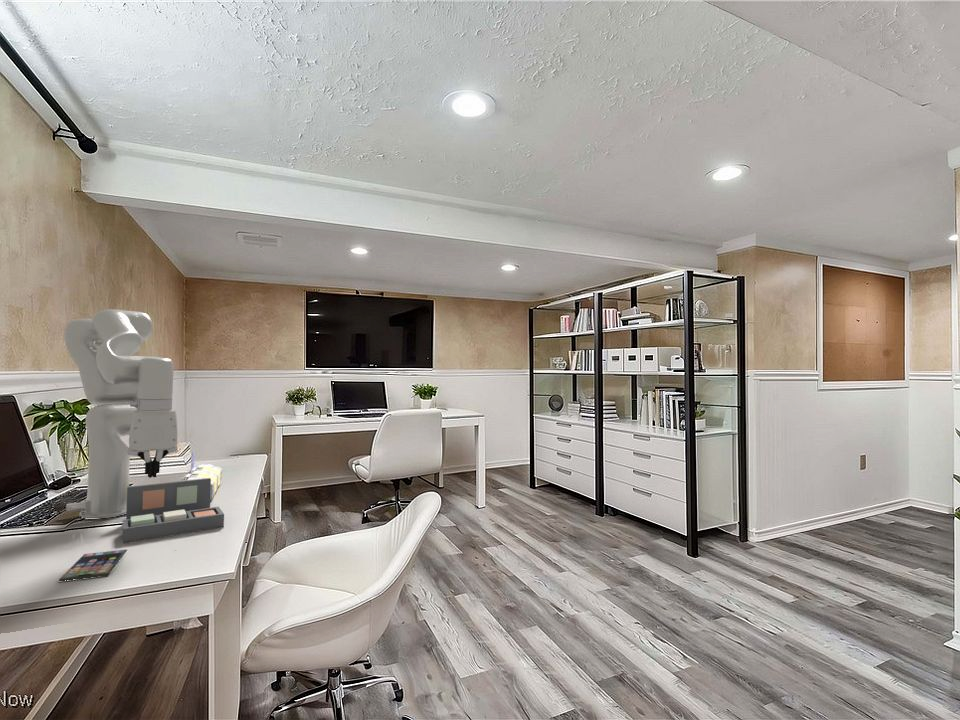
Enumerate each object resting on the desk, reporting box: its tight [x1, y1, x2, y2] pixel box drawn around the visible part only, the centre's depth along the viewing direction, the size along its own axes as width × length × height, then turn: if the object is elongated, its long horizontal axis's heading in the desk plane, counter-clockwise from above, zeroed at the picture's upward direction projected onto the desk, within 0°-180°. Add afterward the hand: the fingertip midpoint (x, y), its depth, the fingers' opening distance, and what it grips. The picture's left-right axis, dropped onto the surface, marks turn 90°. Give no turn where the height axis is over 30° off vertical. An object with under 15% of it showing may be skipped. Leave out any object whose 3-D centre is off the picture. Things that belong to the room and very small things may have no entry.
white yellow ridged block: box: [180, 451, 223, 501], centre depth 162 cm, size 25×10×13 cm, turn 22°
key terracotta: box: [193, 510, 216, 518], centre depth 132 cm, size 5×5×2 cm
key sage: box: [130, 514, 155, 527], centre depth 123 cm, size 5×5×2 cm
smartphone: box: [58, 549, 128, 582], centre depth 105 cm, size 8×15×1 cm, turn 24°
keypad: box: [121, 478, 225, 544], centre depth 132 cm, size 22×19×10 cm
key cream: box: [163, 510, 187, 522], centre depth 128 cm, size 5×5×2 cm
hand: (152, 476), depth 125 cm, fingers closed
